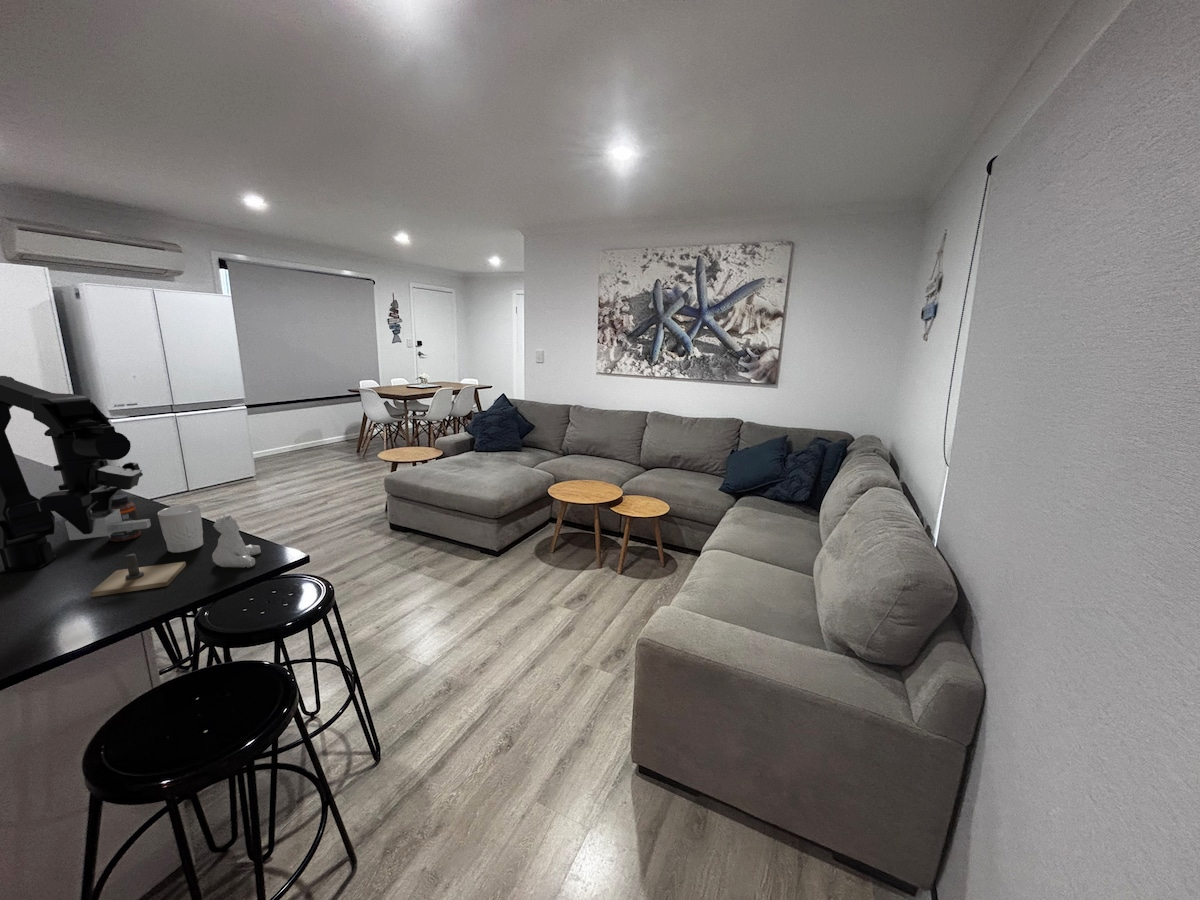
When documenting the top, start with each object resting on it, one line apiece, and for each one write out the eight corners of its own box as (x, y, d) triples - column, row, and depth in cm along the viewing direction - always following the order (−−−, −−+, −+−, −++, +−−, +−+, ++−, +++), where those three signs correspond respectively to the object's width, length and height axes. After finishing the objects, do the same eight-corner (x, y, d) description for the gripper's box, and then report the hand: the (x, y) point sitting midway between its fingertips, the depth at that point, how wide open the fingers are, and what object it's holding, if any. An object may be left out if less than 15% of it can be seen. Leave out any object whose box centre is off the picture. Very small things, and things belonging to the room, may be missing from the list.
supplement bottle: (123, 533, 124) (114, 493, 121) (147, 533, 124) (139, 493, 122) (102, 542, 118) (92, 500, 115) (127, 542, 118) (118, 500, 116)
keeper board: (91, 596, 94) (84, 569, 92) (117, 574, 103) (111, 549, 101) (167, 586, 99) (162, 560, 97) (186, 565, 107) (181, 541, 106)
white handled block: (69, 540, 95) (64, 522, 94) (87, 529, 100) (82, 512, 99) (142, 531, 100) (138, 514, 99) (155, 522, 105) (151, 505, 104)
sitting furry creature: (254, 567, 107) (246, 519, 105) (207, 574, 104) (198, 524, 101) (262, 551, 116) (255, 505, 113) (219, 557, 112) (210, 510, 109)
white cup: (182, 555, 112) (174, 516, 110) (156, 552, 114) (148, 513, 111) (214, 542, 120) (208, 505, 117) (189, 539, 121) (183, 503, 119)
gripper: (105, 464, 90) (123, 538, 93) (150, 445, 107) (164, 509, 110) (25, 470, 86) (47, 548, 89) (85, 449, 102) (101, 515, 106)
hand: (96, 528), depth 99 cm, fingers closed on white handled block, 6 cm apart
